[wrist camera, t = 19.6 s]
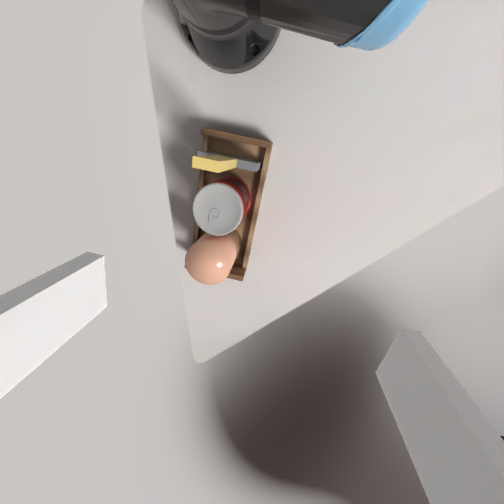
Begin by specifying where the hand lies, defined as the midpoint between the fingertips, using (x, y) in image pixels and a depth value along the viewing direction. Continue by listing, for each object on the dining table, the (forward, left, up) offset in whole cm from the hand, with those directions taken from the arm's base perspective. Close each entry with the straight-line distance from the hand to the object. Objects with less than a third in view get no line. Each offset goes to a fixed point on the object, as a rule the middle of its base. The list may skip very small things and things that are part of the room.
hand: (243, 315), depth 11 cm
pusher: (-4, -8, -37) cm, 38 cm away
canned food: (+3, -8, -36) cm, 37 cm away
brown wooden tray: (+4, -8, -37) cm, 38 cm away
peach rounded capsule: (+12, -8, -36) cm, 39 cm away
